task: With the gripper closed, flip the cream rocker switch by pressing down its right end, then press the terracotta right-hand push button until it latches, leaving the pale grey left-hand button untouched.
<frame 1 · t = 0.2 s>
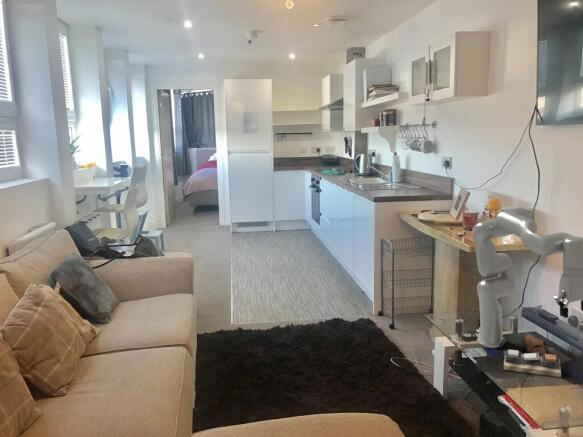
hand: (574, 314, 171), 31 cm above the table, tool pointing down, fingers open, 9 cm apart
rocker: (531, 356, 194), point 5 cm above the table, hinge at -12.0°
button right: (550, 358, 190), point 4 cm above the table, slide at 0.0 cm
button left: (513, 354, 197), point 4 cm above the table, slide at 0.0 cm
sunglasses case: (535, 349, 209), on the table
switch panel: (531, 366, 194), on the table
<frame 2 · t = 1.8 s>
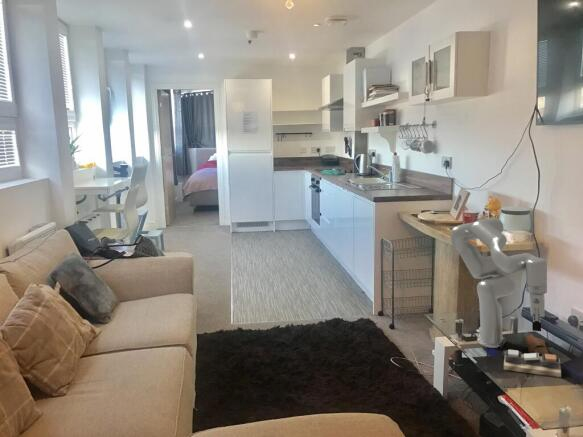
hand: (536, 329, 190), 17 cm above the table, tool pointing down, fingers closed
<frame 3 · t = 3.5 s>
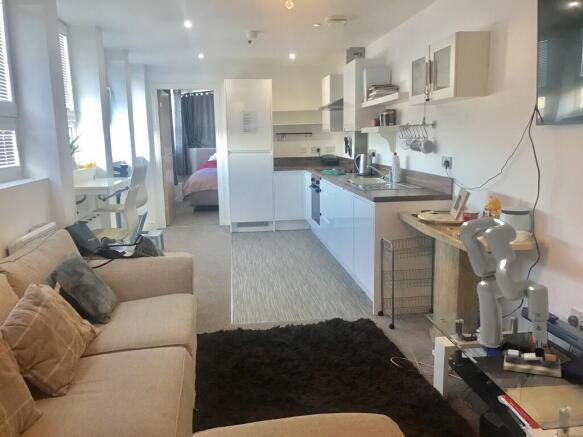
hand: (539, 355, 192), 6 cm above the table, tool pointing down, fingers closed
rocker: (531, 356, 194), point 5 cm above the table, hinge at -9.8°, touching gripper
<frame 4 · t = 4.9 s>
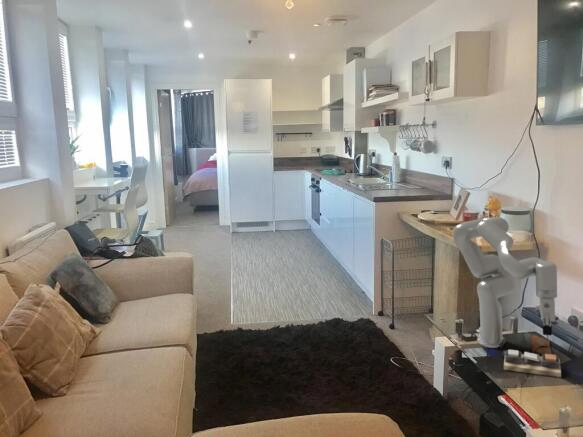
hand: (547, 334, 189), 16 cm above the table, tool pointing down, fingers closed
rocker: (531, 356, 194), point 5 cm above the table, hinge at 7.2°
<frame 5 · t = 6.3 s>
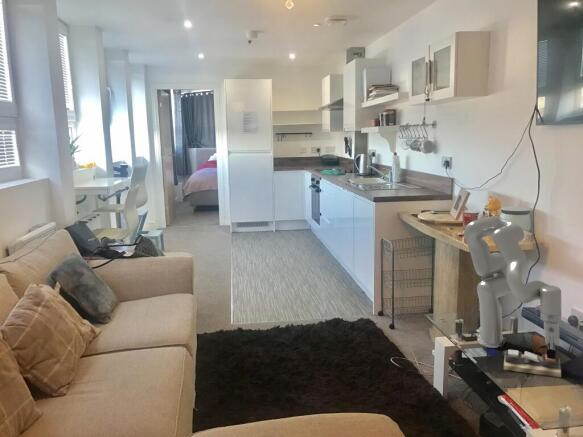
hand: (551, 357, 190), 5 cm above the table, tool pointing down, fingers closed
rocker: (531, 356, 194), point 5 cm above the table, hinge at 16.5°
button right: (550, 359, 190), point 4 cm above the table, slide at 0.3 cm, touching gripper
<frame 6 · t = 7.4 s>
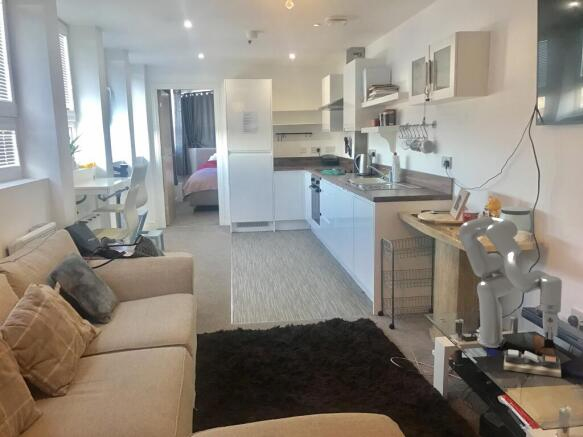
hand: (548, 347, 190), 9 cm above the table, tool pointing down, fingers closed
rocker: (531, 356, 194), point 5 cm above the table, hinge at 21.0°
button right: (550, 361, 191), point 3 cm above the table, slide at 1.0 cm
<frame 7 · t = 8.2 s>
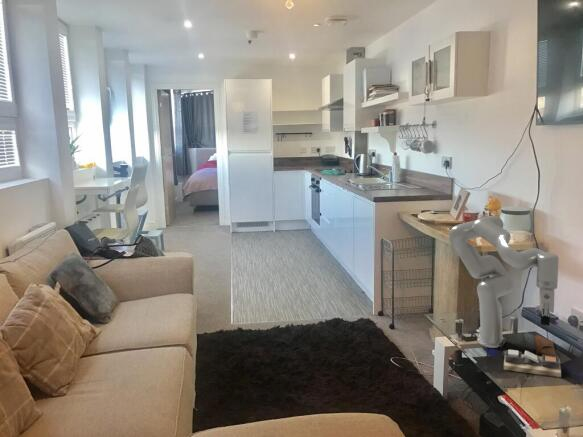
hand: (545, 324, 191), 19 cm above the table, tool pointing down, fingers closed
rocker: (531, 356, 194), point 5 cm above the table, hinge at 23.4°
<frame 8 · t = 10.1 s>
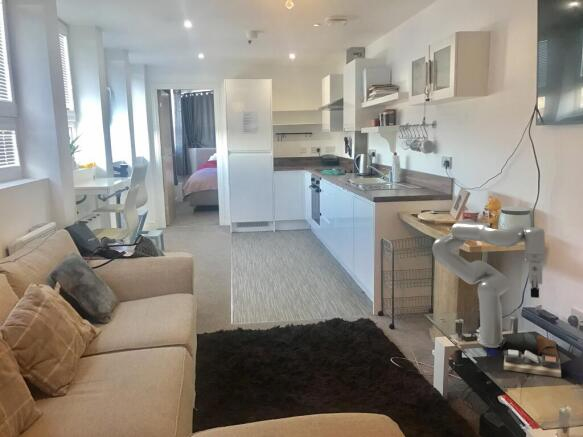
hand: (534, 296, 199), 27 cm above the table, tool pointing down, fingers closed
rocker: (531, 356, 194), point 5 cm above the table, hinge at 26.8°, touching switch panel
at the end: rocker at +27° (first picture: -12°); button right slide at 1.0 cm; button left slide at 0.0 cm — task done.
